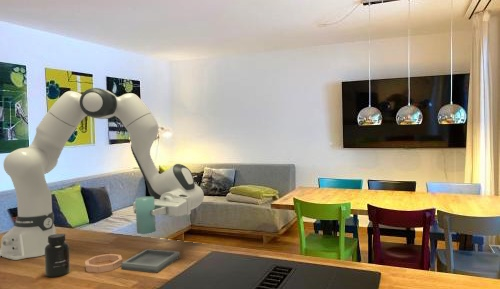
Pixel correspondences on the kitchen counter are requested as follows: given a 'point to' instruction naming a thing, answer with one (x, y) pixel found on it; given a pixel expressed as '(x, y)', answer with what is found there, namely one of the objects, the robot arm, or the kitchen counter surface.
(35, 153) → the robot arm
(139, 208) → the teal green cylinder
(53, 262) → the supplement bottle
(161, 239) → the kitchen counter surface
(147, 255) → the tray
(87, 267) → the holder
